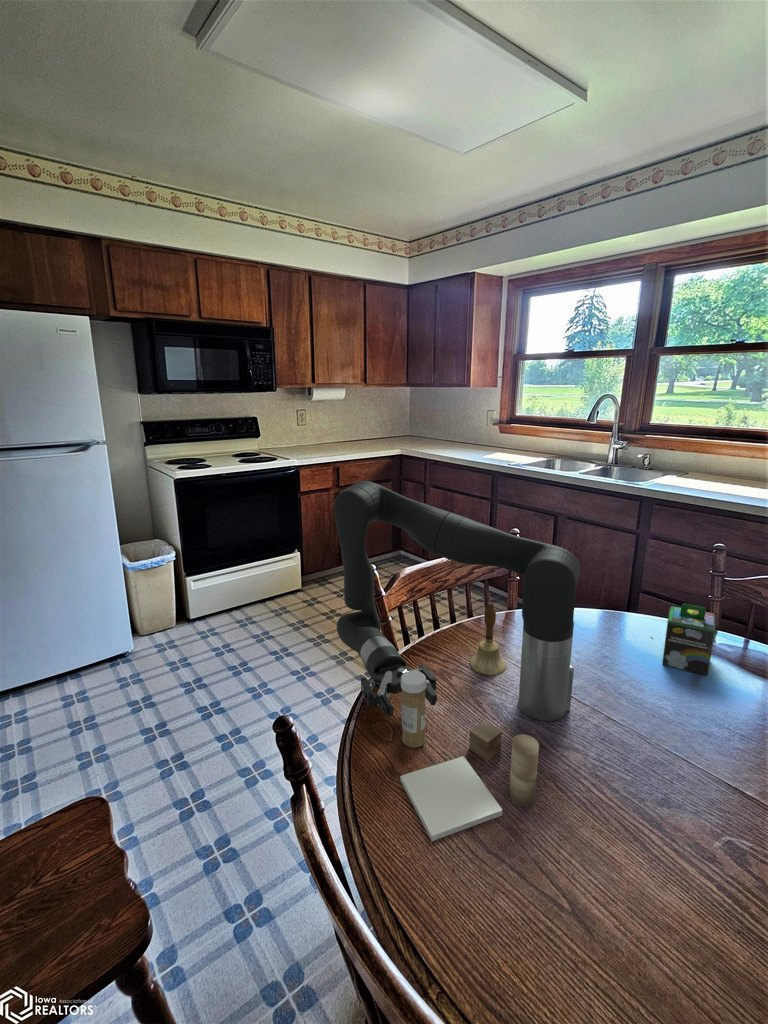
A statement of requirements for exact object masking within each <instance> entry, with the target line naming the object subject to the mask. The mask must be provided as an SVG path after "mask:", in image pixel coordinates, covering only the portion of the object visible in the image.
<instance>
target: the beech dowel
mask: <svg viewBox="0 0 768 1024" xmlns="http://www.w3.org/2000/svg"><path fill="white" fill-rule="evenodd" d="M539 748H540V743H539V742H538V740H537V739H535V738H534V737H533V736H531V735H529V734H518V735H515V736H514V737H513V738H512V740H511V752H510V753H511V756H510V771H509V773H510V774H509V790H508V794H509V795H508V797H509V798H510V800H511V801H512V802H513V803H514V804H516V805H518V806H521V807H529V806H531V805H533V804H534V802H535V800H536V790H537V789H536V788H537V787H536V786H537V776H538V763H539V762H538V761H539V750H540V749H539Z"/></svg>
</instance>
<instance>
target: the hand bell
mask: <svg viewBox="0 0 768 1024" xmlns="http://www.w3.org/2000/svg"><path fill="white" fill-rule="evenodd" d="M494 604H495V603H493V602H492V601H489V602H487V604H486V607H485V610H484V612H483V613H484V614H483V618H484V619H483V620H484V625H485V640H481V641H480V643H479V645H478V649H477V652H476V654H475V655H474V656H473V657H471V658H470V661H469V665H470V668H471V669H472V670H473V671H474V672H477V673H478V674H481V675H484V676H498V675H500V674H503V673H504V672H505V671H506V670H507V664H506V662H505V661H504V659H503V658H502V657H501V655H500V645H499V644H498V643H497V641H494V626H495V624H496V620H497V613H496V612H497V611H496V608H495V606H494Z"/></svg>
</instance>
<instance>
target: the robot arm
mask: <svg viewBox="0 0 768 1024" xmlns="http://www.w3.org/2000/svg"><path fill="white" fill-rule="evenodd" d="M333 514H334V519H335V520H334V521H335V525H336V531H337V535H338V540H339V547H340V552H341V558H342V565H343V595H344V604H345V606H346V607H347V608H349V609H350V610H354V611H353V612H348V613H344V614H342V615H341V616H340V617H339V618H338V620H337V622H336V633H337V635H338V637H339V638H340V640H341V641H342V643H343V644H344V645H345V646H347V647H349V648H350V649H351V650H353V651H354V652H356V653H357V654H358V656H359V657H360V659H361V661H362V663H363V666H364V668H365V670H366V671H367V673H368V674H369V676H370V678H371V679H368V678H367V677H361V678H360V691H361V693H362V696H363V698H364V700H365V703H366V704H367V706H368V707H373V706H374V705H377V706H379V708H380V710H381V711H382V713H383V714H384V715H385V716H388V717H389V718H390V717H393V716H394V707H393V705H392V703H391V701H390V700H389V697H390V695H391V694H393V695H395V694H398V693H402V688H401V676H402V675H403V674H404V673H405V672H407V671H419V672H421V673H423V674H424V675H425V677H426V688H425V700H427V701H428V704H430V706H436V705H437V704H436V703H438V701H437V700H438V693H437V677H436V676H435V674H434V673H432V671H431V670H430V669H429V668H428V667H427V666H426V665H425V664H423V663H420V664H419V665H418V668H415V669H413V668H411V667H409V666H408V665H407V663H406V661H405V660H404V658H403V657H402V655H401V654H400V653H399V651H398V650H397V649H396V648H395V646H394V645H393V644H392V642H390V641H389V640H388V639H387V638H386V636H385V635H384V633H383V632H382V631H381V629H382V624H381V620H380V616H379V614H378V612H377V611H378V610H377V607H376V602H375V574H374V569H373V565H372V563H371V561H370V559H369V557H368V554H367V551H366V535H367V530H368V526H369V525H371V524H372V523H373V522H375V521H378V522H383V523H386V524H389V525H392V526H395V527H398V528H399V529H401V530H403V531H404V532H405V533H407V534H408V535H409V536H410V537H411V538H412V539H413V540H414V541H415V542H416V543H417V544H418V545H419V546H420V547H422V548H423V549H424V550H425V551H428V552H429V553H430V554H433V555H437V556H439V557H441V558H444V559H447V560H449V561H451V562H455V563H458V564H459V563H460V564H464V565H475V566H487V567H496V568H501V569H505V570H508V571H510V572H514V573H517V574H518V575H521V576H523V579H522V580H523V582H522V598H521V600H522V601H521V603H522V604H521V616H522V620H523V621H522V622H523V624H522V625H523V627H522V640H521V643H522V644H521V656H520V657H521V659H520V672H519V687H518V702H517V703H518V707H519V708H520V710H521V711H522V712H523V713H524V714H525V715H526V716H529V717H530V718H533V719H535V720H539V721H542V722H544V721H545V722H552V721H558V720H560V719H562V718H564V716H565V715H566V712H568V711H570V710H571V703H572V701H571V700H572V693H573V691H572V690H573V683H574V669H575V668H574V667H573V666H572V665H571V661H572V651H573V650H572V649H573V647H572V646H573V637H574V627H575V622H574V617H575V616H574V614H575V604H576V603H575V602H576V594H577V585H578V581H579V578H580V575H581V567H580V566H581V565H580V563H579V561H578V559H577V558H576V556H575V555H574V554H573V553H571V552H570V551H569V550H568V549H566V548H563V547H561V546H558V545H555V544H551V543H545V542H541V541H537V540H534V539H533V540H532V539H529V538H525V537H520V536H517V535H514V534H510V533H508V532H506V531H503V530H500V529H498V528H495V527H492V526H489V525H487V524H484V523H481V522H477V521H475V520H473V519H470V518H468V517H466V516H462V515H460V514H457V513H453V512H451V511H447V510H444V509H442V508H437V507H434V506H431V505H429V504H427V503H423V502H420V501H417V500H413V499H411V498H409V497H406V496H404V495H401V494H399V493H398V492H395V491H393V490H392V489H390V488H387V487H385V486H383V485H380V484H379V483H375V482H374V481H368V480H363V481H358V482H355V483H353V484H352V485H351V486H349V487H347V488H345V489H343V490H342V491H340V492H339V493H338V494H337V495H336V497H335V500H334V503H333ZM373 687H374V688H376V689H378V690H377V693H374V692H373Z"/></svg>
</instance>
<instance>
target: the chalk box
mask: <svg viewBox="0 0 768 1024" xmlns="http://www.w3.org/2000/svg"><path fill="white" fill-rule="evenodd" d="M666 623H667V625H666V631H665V637H664V638H665V640H664V646H663V647H664V648H663V655H662V666H666V667H670V668H674V669H677V670H683V671H686V672H689V673H694V674H696V675H702V676H705V677H707V676H708V675H709V670H710V663H711V657H712V652H713V645H714V638H715V633H716V616H715V613H713V612H708V611H707V608H706V607H705V606H701V605H695V604H690V603H682V604H681V606H680V607H678V606H670V607H669V611H668V616H667V622H666Z"/></svg>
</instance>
